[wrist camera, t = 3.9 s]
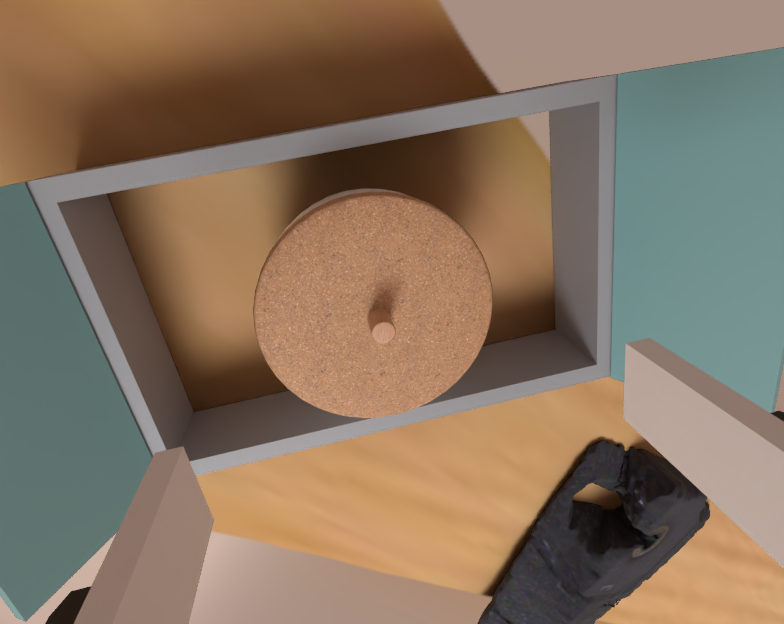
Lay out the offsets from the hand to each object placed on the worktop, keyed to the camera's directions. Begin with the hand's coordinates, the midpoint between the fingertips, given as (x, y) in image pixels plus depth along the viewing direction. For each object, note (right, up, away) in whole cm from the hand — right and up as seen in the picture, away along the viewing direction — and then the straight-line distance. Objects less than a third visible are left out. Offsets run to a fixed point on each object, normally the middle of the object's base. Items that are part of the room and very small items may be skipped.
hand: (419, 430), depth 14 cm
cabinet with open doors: (-3, +6, +14) cm, 16 cm away
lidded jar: (-3, +6, +14) cm, 16 cm away
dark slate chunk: (+16, -17, +28) cm, 36 cm away
